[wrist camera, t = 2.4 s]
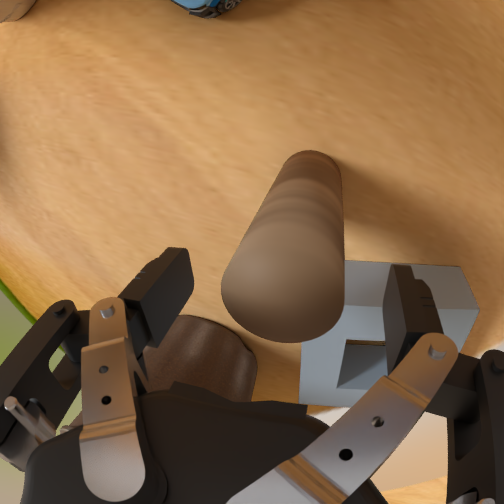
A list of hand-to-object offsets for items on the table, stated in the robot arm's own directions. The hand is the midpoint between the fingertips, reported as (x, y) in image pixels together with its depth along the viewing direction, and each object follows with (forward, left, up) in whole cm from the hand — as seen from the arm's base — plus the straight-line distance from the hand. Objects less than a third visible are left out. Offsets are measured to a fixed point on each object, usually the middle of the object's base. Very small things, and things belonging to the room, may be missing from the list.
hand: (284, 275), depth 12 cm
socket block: (+11, +6, -10) cm, 16 cm away
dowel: (-1, 0, -10) cm, 10 cm away
